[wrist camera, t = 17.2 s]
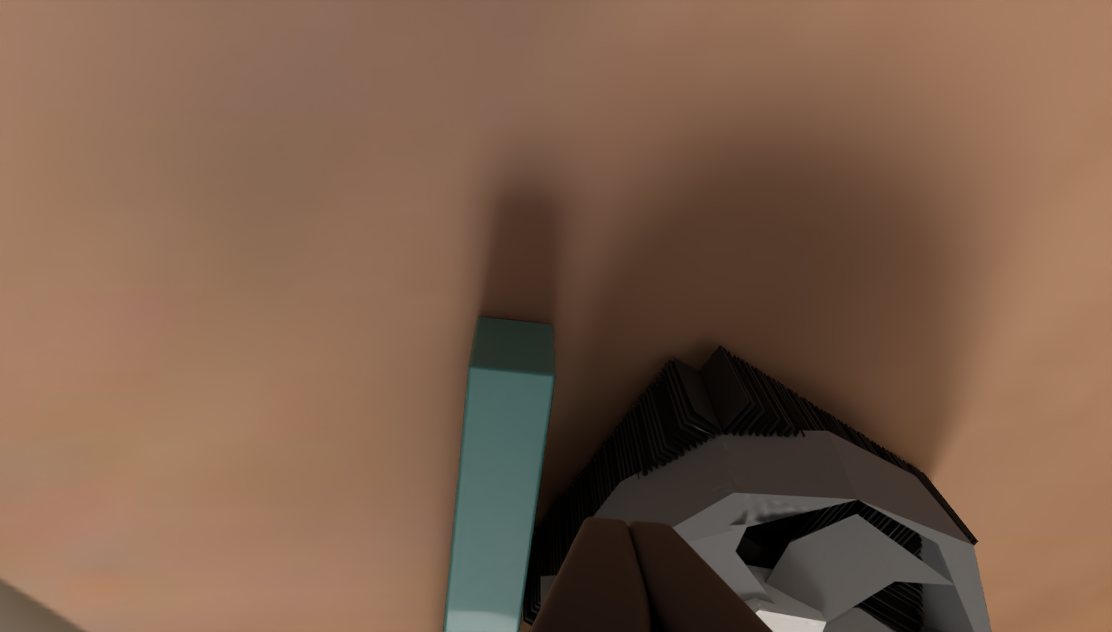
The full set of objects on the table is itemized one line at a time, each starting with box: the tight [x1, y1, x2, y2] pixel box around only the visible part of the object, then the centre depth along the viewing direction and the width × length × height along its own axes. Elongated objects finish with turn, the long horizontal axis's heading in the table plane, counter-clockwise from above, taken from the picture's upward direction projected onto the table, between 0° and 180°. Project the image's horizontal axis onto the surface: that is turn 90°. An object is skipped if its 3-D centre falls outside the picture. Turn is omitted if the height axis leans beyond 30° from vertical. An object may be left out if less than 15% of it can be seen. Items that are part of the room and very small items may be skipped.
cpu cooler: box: [523, 346, 992, 632], centre depth 21 cm, size 10×6×10 cm
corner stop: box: [443, 317, 555, 632], centre depth 23 cm, size 14×13×3 cm
